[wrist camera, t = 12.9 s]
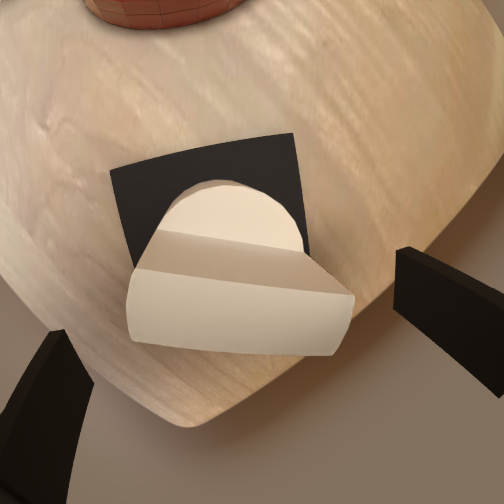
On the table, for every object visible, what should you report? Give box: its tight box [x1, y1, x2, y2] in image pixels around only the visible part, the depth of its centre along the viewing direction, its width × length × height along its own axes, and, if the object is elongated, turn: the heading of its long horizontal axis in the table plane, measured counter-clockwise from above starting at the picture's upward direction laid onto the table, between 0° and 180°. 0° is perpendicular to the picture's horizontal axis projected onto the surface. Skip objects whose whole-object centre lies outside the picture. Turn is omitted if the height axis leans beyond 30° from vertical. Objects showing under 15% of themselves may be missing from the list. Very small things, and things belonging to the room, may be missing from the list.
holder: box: [110, 133, 310, 268], centre depth 22 cm, size 14×14×1 cm
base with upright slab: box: [125, 180, 355, 356], centre depth 16 cm, size 9×9×12 cm
